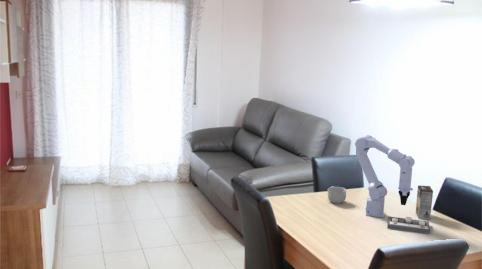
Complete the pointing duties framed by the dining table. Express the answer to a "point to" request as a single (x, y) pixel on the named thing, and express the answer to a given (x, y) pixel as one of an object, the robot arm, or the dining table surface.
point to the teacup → (336, 194)
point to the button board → (408, 225)
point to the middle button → (408, 220)
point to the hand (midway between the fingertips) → (403, 204)
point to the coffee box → (424, 202)
